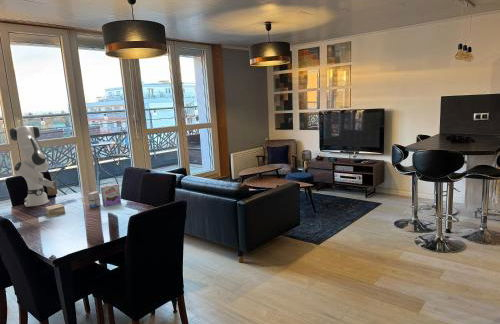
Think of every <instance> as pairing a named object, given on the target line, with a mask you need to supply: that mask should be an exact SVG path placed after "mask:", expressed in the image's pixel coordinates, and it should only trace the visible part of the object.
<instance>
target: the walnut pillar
mask: <svg viewBox="0 0 500 324" xmlns="http://www.w3.org/2000/svg"><path fill="white" fill-rule="evenodd" d="M50 181H51V180H50ZM51 182H53V183H54V184H53V186H55V188H54V189H53V188H51V187H48V186H46V191H47V196H55V195H58V189H57V184H56V183H57V182H56V181H54V180H52V181H51Z"/></svg>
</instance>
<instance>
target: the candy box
mask: <svg viewBox="0 0 500 324" xmlns="http://www.w3.org/2000/svg"><path fill="white" fill-rule="evenodd" d="M100 191H101V193H100V194H101V199H102V206H103V207H109V206H115V205H119V204H122V201H121V200H122V199H121V191H120V185H119V184H118V183H116V184H115V183H114V184H109V185H100Z"/></svg>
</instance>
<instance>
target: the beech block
mask: <svg viewBox="0 0 500 324" xmlns="http://www.w3.org/2000/svg"><path fill="white" fill-rule="evenodd" d="M45 211H46V212H45V213H46V215H47V216H48V217H50V218H51V217H55V216H60V215H64V214H66V209H65V205H64V204H62V203H59V204H54V205H49V206H45Z"/></svg>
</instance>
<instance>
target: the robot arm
mask: <svg viewBox="0 0 500 324" xmlns="http://www.w3.org/2000/svg"><path fill="white" fill-rule="evenodd" d="M41 132H42V131H41V129H40V127H39V126H37V125H33V126H31V125H21V126H18V127H12V128H10V129H9V131H8V137H9V138H10V139H11V140H12V141H17V144H18V146H19V147H20V152H21V155H22V156H23V157H24V158H25V159H24V160H22V161H18V162H17V163H16V164H15V165H14V168H13V169H14V172H15V173H16V174H17V175H20V176H21V177H23V178H24V180H25V182H26V184H27V196H26V197H25V198H24V206H25V207H38V206H41V205H46V204H48V203H49V202H50V200H49V199H48V193H46V192H45V188H44V187H47V186H48V187H51V188H53V189H54V188H55V186H53V184H54V183H53V182H51V180H49V179H47V178H45V177H44V174H43V173H44V172H47V171H48V170H49V168H50V164H49V162H48V161H47V159H46V155H45V154H44V152H43V150H42V148H41V145H40V143H39V141H38V138H40V137H41Z"/></svg>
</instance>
